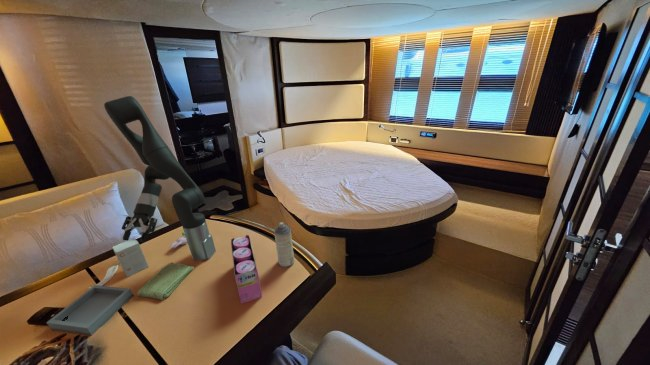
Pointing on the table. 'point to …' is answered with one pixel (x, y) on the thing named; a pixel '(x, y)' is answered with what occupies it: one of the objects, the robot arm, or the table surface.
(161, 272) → the washcloth
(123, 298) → the bin
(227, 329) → the table surface
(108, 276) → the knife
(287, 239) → the aerosol can
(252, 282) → the gum box
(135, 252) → the small box
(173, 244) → the pale purple eggplant
